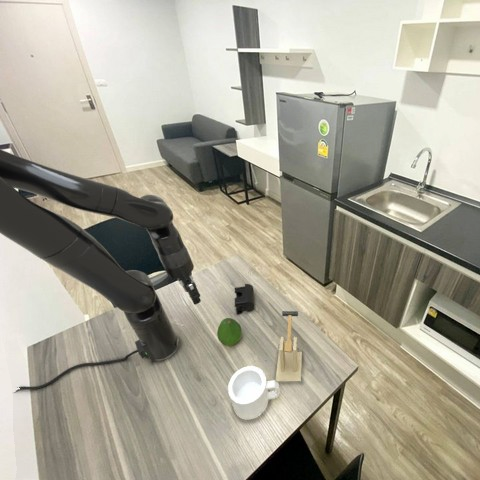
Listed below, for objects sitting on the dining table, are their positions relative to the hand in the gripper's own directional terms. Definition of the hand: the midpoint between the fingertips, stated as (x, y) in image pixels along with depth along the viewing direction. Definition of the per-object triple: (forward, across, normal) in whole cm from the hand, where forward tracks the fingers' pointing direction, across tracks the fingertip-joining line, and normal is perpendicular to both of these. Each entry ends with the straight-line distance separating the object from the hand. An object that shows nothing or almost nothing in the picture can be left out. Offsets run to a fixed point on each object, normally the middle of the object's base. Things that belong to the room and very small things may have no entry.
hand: (192, 295), depth 88 cm
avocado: (+18, +12, +4) cm, 22 cm away
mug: (+18, +35, 0) cm, 39 cm away
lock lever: (+6, +29, +18) cm, 35 cm away
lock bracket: (+18, +33, +14) cm, 40 cm away
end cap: (+19, 0, +16) cm, 25 cm away
